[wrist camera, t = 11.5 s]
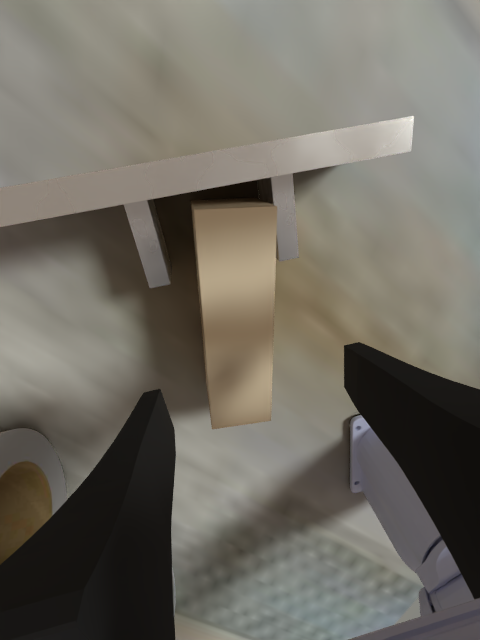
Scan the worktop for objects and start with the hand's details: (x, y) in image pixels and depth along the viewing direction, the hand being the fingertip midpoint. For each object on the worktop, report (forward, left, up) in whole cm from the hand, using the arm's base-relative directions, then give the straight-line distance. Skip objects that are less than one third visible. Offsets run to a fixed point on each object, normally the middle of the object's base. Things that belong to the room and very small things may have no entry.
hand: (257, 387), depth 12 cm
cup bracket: (+7, 0, -8) cm, 11 cm away
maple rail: (0, 0, -9) cm, 9 cm away
